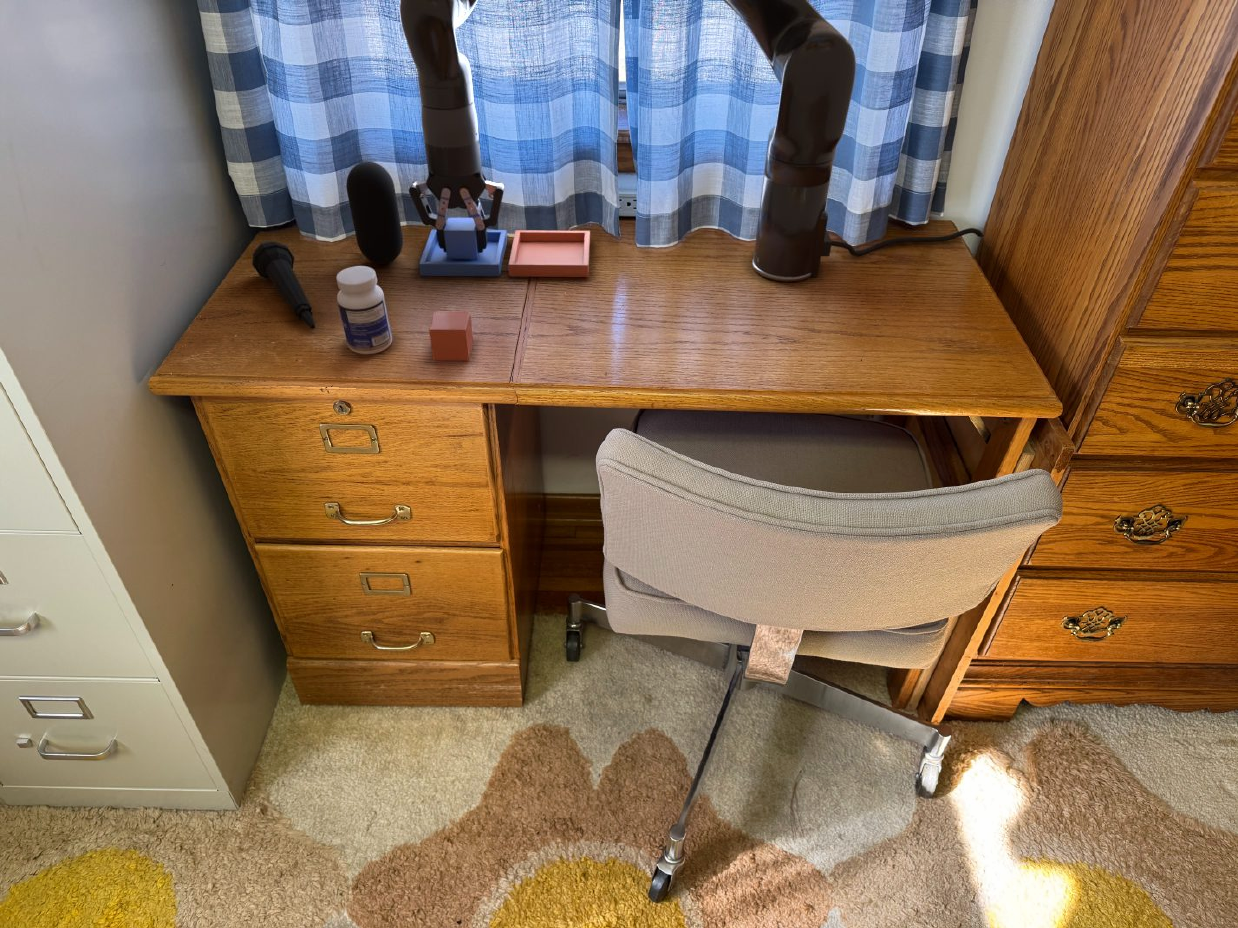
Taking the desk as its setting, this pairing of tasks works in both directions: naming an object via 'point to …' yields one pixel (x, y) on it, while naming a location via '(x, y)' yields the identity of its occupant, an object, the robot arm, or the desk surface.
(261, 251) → the microphone
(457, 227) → the blue cube
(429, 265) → the blue tray
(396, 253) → the decorative object
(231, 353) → the desk surface
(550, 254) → the terracotta tray
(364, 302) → the pill bottle
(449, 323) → the terracotta cube
